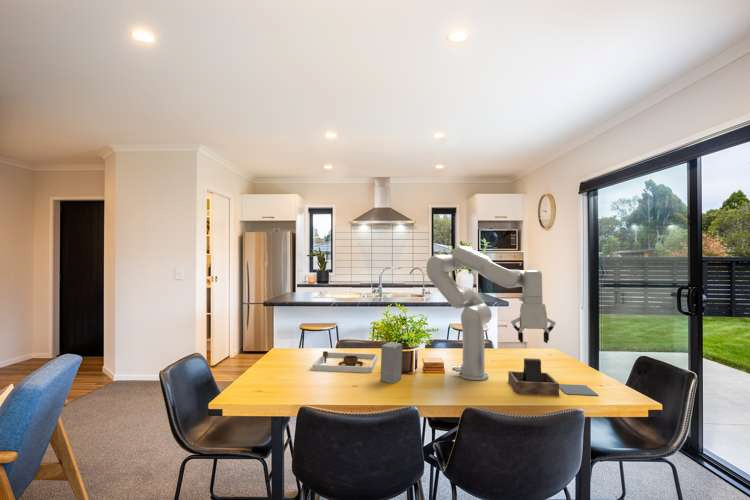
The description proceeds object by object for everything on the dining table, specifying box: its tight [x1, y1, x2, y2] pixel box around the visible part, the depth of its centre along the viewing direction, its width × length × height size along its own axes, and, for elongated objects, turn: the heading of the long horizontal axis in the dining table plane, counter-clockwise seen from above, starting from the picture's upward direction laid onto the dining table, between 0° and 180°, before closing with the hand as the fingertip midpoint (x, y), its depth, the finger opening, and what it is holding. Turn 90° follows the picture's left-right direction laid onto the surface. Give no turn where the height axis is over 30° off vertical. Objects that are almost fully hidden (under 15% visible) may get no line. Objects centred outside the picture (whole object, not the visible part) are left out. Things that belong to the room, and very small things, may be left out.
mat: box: [559, 383, 599, 397], centre depth 161 cm, size 12×12×1 cm
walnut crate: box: [507, 370, 560, 396], centre depth 163 cm, size 16×15×4 cm
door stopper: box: [522, 358, 543, 382], centre depth 163 cm, size 9×6×12 cm, turn 172°
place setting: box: [322, 350, 367, 367], centre depth 198 cm, size 18×20×6 cm
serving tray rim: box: [312, 351, 379, 374], centre depth 197 cm, size 28×26×2 cm
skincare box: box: [380, 341, 403, 385], centre depth 172 cm, size 8×7×16 cm
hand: (533, 342), depth 163 cm, fingers open, 9 cm apart
